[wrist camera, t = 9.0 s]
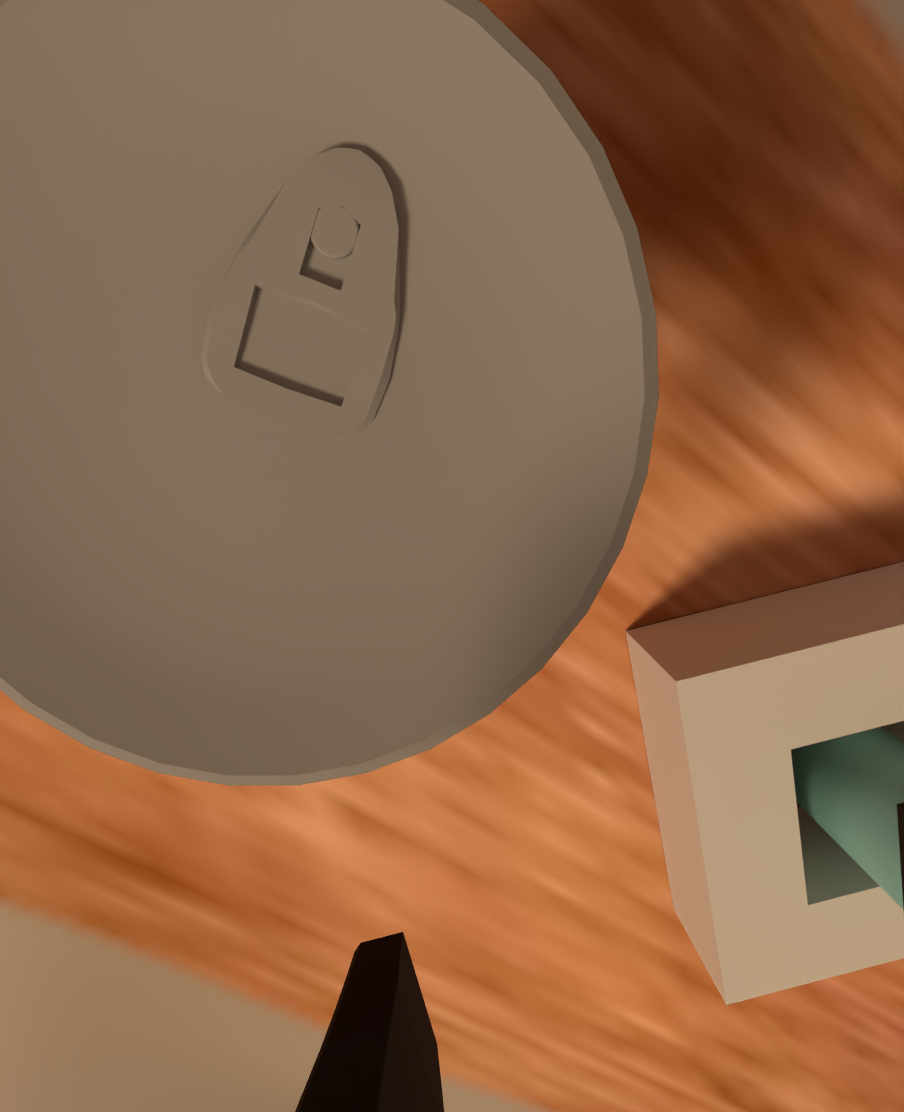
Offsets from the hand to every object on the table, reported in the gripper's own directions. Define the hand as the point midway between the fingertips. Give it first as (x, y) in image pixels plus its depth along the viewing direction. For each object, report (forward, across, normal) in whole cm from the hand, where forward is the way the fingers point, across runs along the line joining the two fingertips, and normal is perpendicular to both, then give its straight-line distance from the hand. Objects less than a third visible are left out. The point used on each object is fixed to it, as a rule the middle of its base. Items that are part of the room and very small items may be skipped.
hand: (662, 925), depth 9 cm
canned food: (+10, +3, -8) cm, 13 cm away
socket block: (+10, -8, +5) cm, 14 cm away
